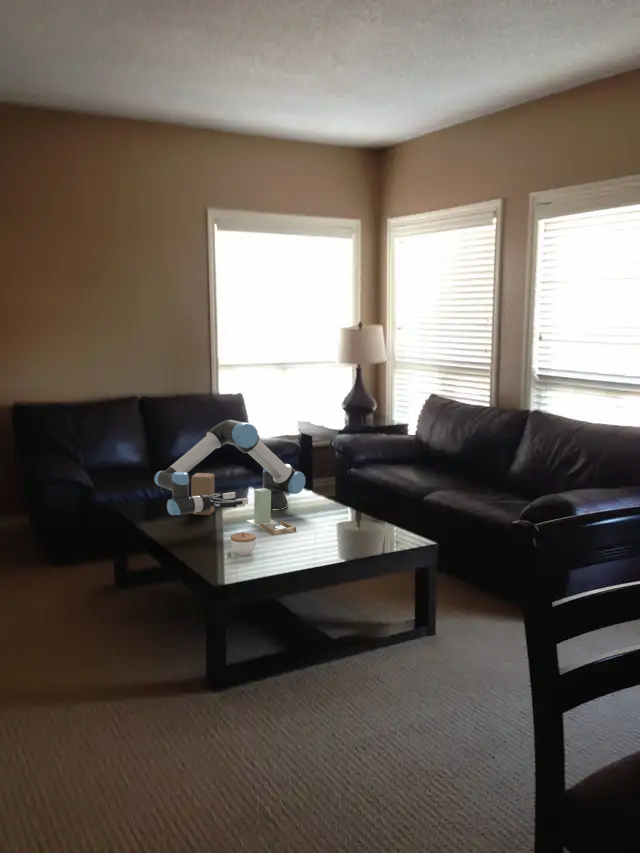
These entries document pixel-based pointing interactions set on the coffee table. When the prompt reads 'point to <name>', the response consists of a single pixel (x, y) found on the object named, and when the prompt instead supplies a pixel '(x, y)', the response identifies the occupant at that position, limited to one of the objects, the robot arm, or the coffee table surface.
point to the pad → (263, 523)
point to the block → (203, 488)
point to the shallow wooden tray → (272, 529)
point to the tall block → (262, 505)
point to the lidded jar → (243, 543)
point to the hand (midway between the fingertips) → (241, 497)
